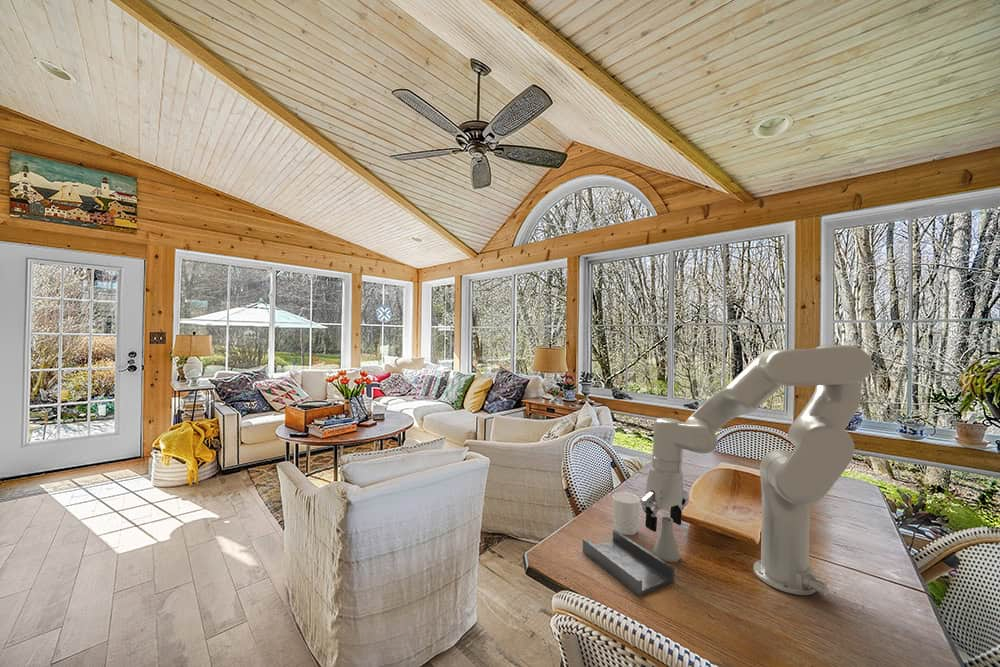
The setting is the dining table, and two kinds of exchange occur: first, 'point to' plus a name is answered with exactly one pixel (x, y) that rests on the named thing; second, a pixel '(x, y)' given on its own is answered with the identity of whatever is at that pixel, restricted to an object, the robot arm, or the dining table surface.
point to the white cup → (626, 513)
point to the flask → (666, 542)
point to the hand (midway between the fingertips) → (663, 525)
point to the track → (630, 564)
